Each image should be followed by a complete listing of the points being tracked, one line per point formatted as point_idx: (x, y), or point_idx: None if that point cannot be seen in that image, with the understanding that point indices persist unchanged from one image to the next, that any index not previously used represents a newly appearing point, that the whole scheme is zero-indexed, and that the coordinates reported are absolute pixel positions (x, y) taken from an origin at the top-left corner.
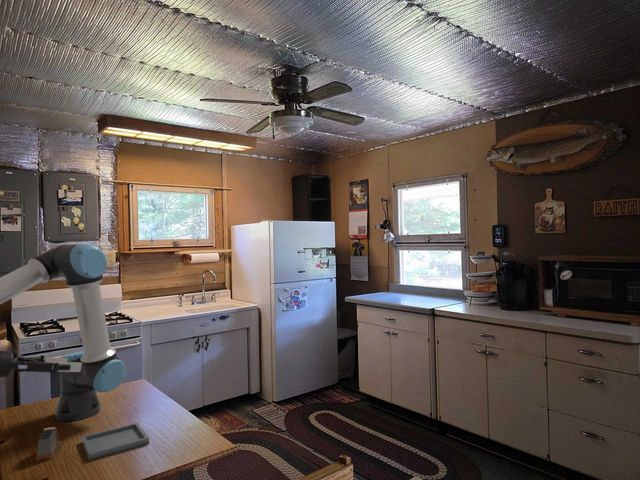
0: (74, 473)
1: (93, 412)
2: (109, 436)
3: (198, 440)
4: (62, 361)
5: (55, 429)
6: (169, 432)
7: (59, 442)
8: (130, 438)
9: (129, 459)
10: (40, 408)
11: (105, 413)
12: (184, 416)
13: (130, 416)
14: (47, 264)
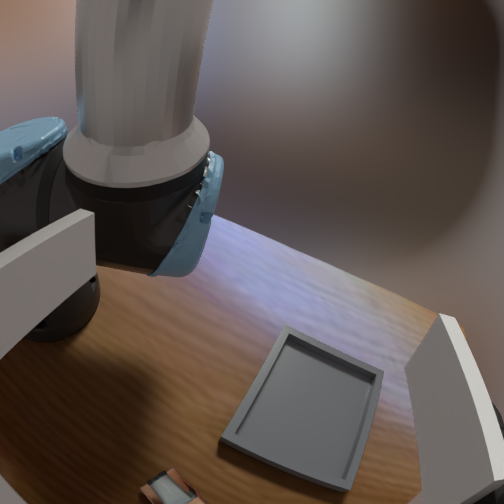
0: None
1: (98, 295)
2: (273, 396)
3: (422, 330)
4: (73, 251)
5: (204, 501)
6: (359, 325)
7: (178, 477)
8: (332, 382)
9: (403, 437)
10: None
11: (121, 286)
12: (315, 265)
13: (201, 287)
14: None
